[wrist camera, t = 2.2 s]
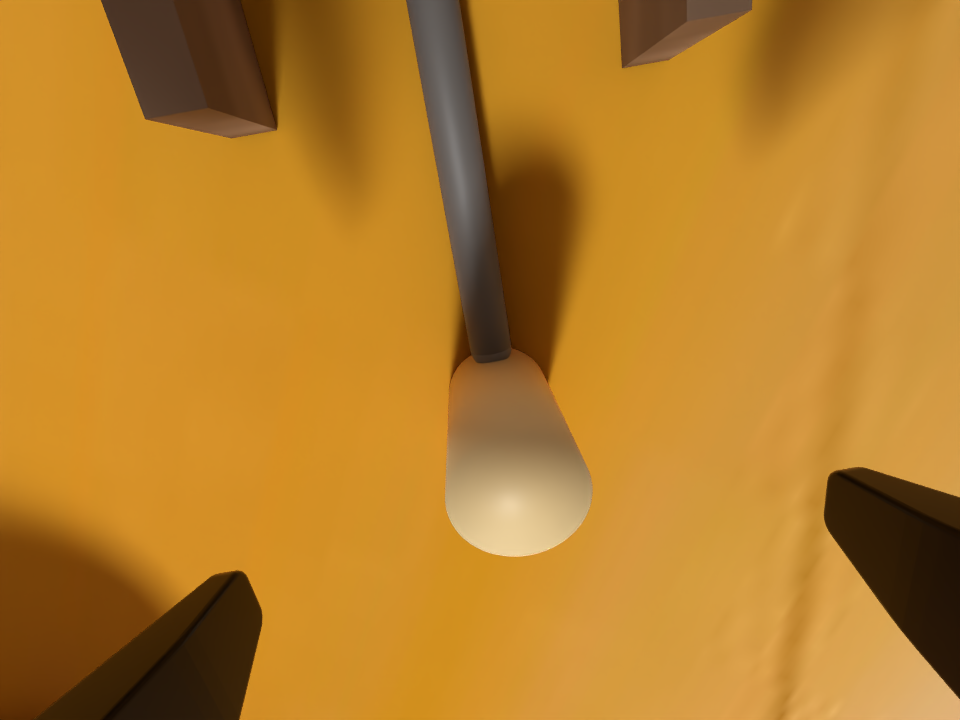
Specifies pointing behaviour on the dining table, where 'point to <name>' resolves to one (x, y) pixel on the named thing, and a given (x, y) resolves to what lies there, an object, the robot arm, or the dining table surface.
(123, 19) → the lane rack
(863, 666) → the dining table surface
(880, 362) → the dining table surface
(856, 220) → the dining table surface
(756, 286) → the dining table surface
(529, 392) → the mallet
